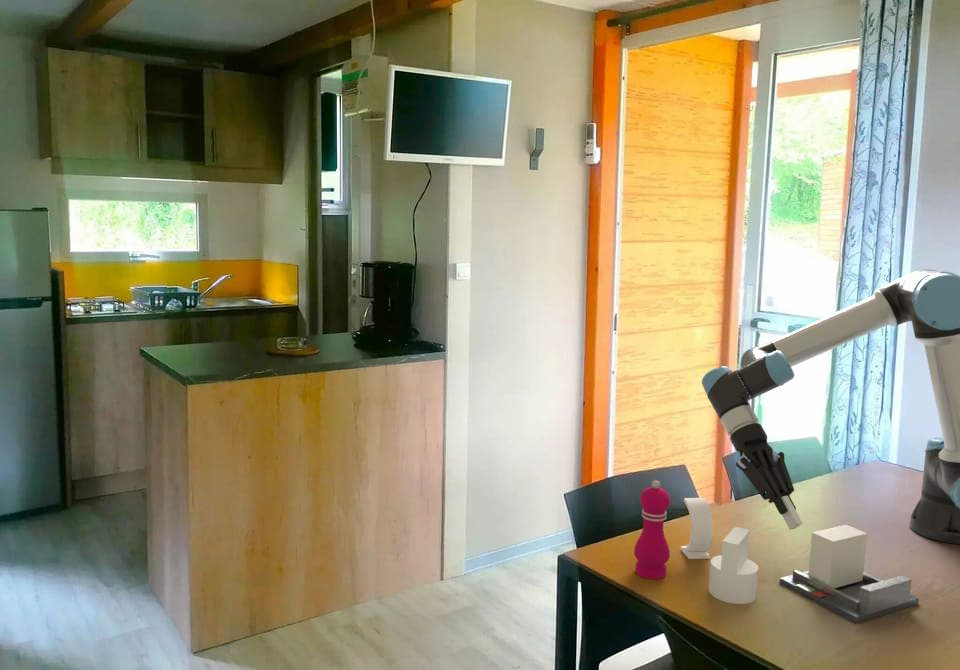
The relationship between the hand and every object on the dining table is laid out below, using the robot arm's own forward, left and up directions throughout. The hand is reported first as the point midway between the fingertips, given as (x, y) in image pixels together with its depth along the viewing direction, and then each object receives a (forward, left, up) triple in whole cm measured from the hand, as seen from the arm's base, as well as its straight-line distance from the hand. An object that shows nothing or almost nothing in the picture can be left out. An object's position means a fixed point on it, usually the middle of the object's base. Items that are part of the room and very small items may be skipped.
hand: (796, 526), depth 170 cm
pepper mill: (+29, -11, -10) cm, 33 cm away
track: (-1, +13, -9) cm, 16 cm away
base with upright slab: (+20, +3, -10) cm, 23 cm away
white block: (-1, +10, -8) cm, 12 cm away
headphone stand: (+14, -14, -10) cm, 22 cm away
